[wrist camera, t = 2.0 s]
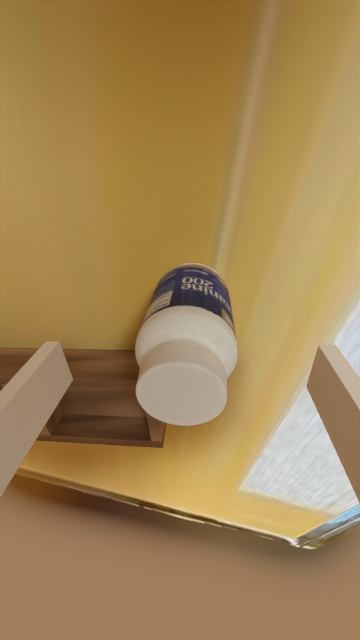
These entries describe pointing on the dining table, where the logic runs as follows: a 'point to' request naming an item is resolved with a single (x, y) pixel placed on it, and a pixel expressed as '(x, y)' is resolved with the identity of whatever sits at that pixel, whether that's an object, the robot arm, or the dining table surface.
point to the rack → (94, 399)
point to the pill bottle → (186, 347)
